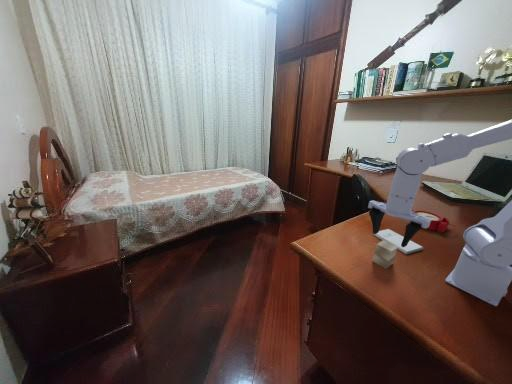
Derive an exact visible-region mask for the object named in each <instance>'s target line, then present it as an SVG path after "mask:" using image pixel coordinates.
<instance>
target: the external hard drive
mask: <svg viewBox="0 0 512 384" xmlns="http://www.w3.org/2000/svg"><path fill="white" fill-rule="evenodd" d="M372 235H373V236H375V237H376V238H378V239H380V240H381V241H383V240H385V241H387V242H389V243H391V244H393V245H395V246H398V249H397V251H400V252H401V253H403V254H405V255H408V254H411V253H412V254H413V253H414V252H420V251H423V249H424V246H422V245H421V244H419V243H416V242H414V241H412V239H410V241H409V242H408V244H407V246H405V247H401V244H402V241H403V238H404V235H401V234H399V233H397V232H396V231H394V230H391V229H390V228H386V229H382V230H379V232H378V233H377V234H373V233H372Z"/></svg>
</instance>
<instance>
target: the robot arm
mask: <svg viewBox="0 0 512 384" xmlns="http://www.w3.org/2000/svg"><path fill="white" fill-rule="evenodd" d="M509 140H512V119H510V120H506V121H504V122H501V123H498V124H496V125H492V126H490V127H488V128H484V129H481V130H479V131H477V132H473V133H471V134H468V135H465V134H461V133H460V132H458V133H450V132H448V133H445V134H443V135H442V137H441V138H438V139H435V140H433V141H430V142H428V143H424V142H422V143H418V144H417V148H416V147H408V148H405V149H403V150H401V152H399V153H398V155H397V157H395V163H396V165H397V166H396V169H395V173H394V175H393V179H392V182H391V185H390V189H389V192H388V197H387V201H386V202H381V201H380V202H379V201H378V200H377V201H376V200H369V202H368V206H367V208H368V209H370V210H369V211H368V213H369V214H368V215H369V216H370V219H371V224H372V235H373V234H377V233H378V232H379V231H381V230H380V229H381V224H382V221H383V218H384V216H385V214H386V215H388V216H390V217H394V218H395V217H396V218H399V219H401V220H404V221H406V222H409V223H407V224H406V226H405V232H404V235H403V237H404V238H403V241H402V244H401V247H405V246H407V244H408V242H409V241H410V240H412V239H413V237H414V236H415V235H416V233H418V232H419V231H420V230H421V229H426V228H428V227H429V225H430V223H431V220H430V219H427V218H425V217H423V216H420V215H418V214H416V213H414V212H415V211H414V212H413V211H412V209H413V206H414V203H415V199H416V197H417V193H418V191H419V187H420V184H421V179H422V177H423V174H424V173H425V172H427V170H428V169H429V168H430V167H431V168H432V167H436V166H440V165H443V164H447V163H450V162H453V161H457V160H460V159H464V158H467V157H468V156H469V155H470V154H471V152H473V150H475V149H479V148H482V147H487V146H490V145H493V144H497V143H502V142H505V141H509ZM462 235H463V236H462V237H463V238H462V239H463V240H464V242H465V245H464V247H463V248H462V250H461V253H460V256H459V258H458V260H457V262H456V265H455V266H454V268H453V270H452V271H450V273H449V274H448V276H447V277H446V278H445V280H444V281H445V282H446V283H448V284H450V285H452V286H453V287H456V288H458V289H460V290H462V291H463V292H466V293H468V294H470V295H472V296H474V297H475V298H478V299H479V300H481V301H483V302H486V303H488V304H489V305H492V306H494V307H498V306H499V304H500V302H501V300H502V298H503V297H506V295H507V294H508V287H509V285H510V284H511V282H512V199H511V200H510V201H509V202H508V203H507V204H506V205H505V206H504V207H503V208H502V209H501V210H499V212H497V213H496V214H495V216H493V217H487V218H484V219H481V220H480V221H479V222H478V223H477V224H474V225H472V226H469V227H467V228H466V230H464V231H463V234H462Z"/></svg>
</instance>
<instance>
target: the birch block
mask: <svg viewBox="0 0 512 384" xmlns="http://www.w3.org/2000/svg"><path fill="white" fill-rule="evenodd" d="M397 251H398V246H395V245H393V244H391V243H389V242H387V241H385V240H381V241H379V242H378V243H377V244H376V246H375V250H374V253H373V257H372V262H373V263H375V264H377V265H378V266H380V267H382V268H384V269H388V268H389V267H391V266H392V265H393V264H394V261H395V257H396V254H397Z"/></svg>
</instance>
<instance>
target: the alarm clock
mask: <svg viewBox="0 0 512 384" xmlns="http://www.w3.org/2000/svg"><path fill="white" fill-rule="evenodd" d="M411 211H412V212H414V213H416V214H418V215H420V216H423V217H425V218H427V219H430V220H431V223H430V225H429V227H428V228H426V229H427V230H430V231H431V230H432V231H436V232H438V233H444V232H445V231H446V230H451V231H456V230H457V229H458V228H457V226H456V225H454V224H451V223H450V220H449V218H448V217H443V218H442V217H441V216H440V215H438V214H435V213H433V212H429V211H424V210H415V211H414V210H411ZM449 225H450V226H453V227H454V229H453V228H448V227H449Z"/></svg>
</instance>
